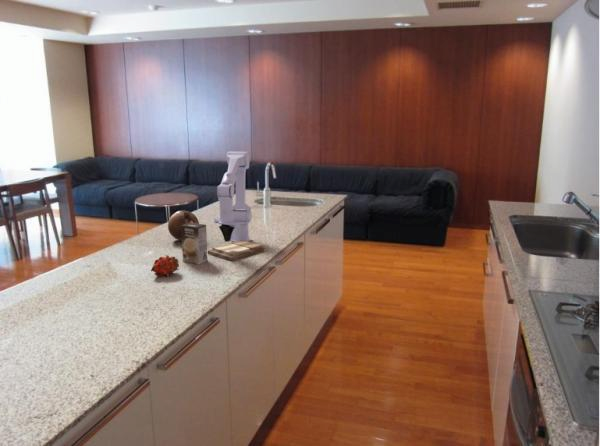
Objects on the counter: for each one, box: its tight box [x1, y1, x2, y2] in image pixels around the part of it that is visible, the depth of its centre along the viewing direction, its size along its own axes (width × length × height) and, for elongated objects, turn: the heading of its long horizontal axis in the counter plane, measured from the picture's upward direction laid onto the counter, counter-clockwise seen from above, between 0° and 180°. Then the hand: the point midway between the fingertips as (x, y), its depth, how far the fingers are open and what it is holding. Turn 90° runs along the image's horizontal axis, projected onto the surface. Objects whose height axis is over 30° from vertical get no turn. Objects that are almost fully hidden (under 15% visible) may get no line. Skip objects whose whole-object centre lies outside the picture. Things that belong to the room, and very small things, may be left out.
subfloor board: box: [207, 240, 265, 262], centre depth 224 cm, size 16×20×3 cm
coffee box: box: [181, 222, 208, 265], centre depth 210 cm, size 9×6×16 cm
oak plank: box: [212, 242, 250, 256], centre depth 221 cm, size 14×10×1 cm
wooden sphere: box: [167, 210, 200, 242], centre depth 242 cm, size 15×15×15 cm
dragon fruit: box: [150, 254, 180, 277], centre depth 194 cm, size 8×8×12 cm
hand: (227, 241), depth 219 cm, fingers closed
